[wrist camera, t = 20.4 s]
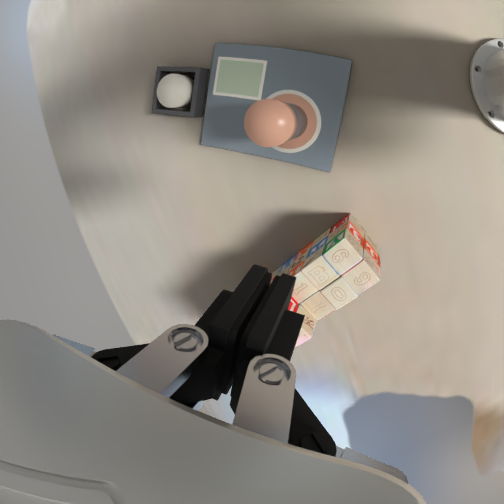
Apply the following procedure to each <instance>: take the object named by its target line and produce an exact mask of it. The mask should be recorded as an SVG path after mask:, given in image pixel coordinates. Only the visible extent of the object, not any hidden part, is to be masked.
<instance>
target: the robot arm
mask: <svg viewBox="0 0 504 504" xmlns="http://www.w3.org/2000/svg"><path fill="white" fill-rule="evenodd" d="M498 45H499V46H498ZM475 68H476V69H477V72H476V70H475ZM470 84H471V90H472V93H473V96H474V99H475V101H476V103H477V105H478V108H479V109H480V111H481V112H482V114H483V115H484V117H485V118H486V119H487V120H488V121H489V123H490V124H491V125H493V126H494V127H495V128H496V129H497V130H499V131H501V132H502V133H504V39H493V40H489V41H487V42H486V43H484V44H483V45H481V46H480V47H479V48H478V49H477V51H476V52H475V53H474V56H473V58H472V60H471V65H470ZM488 112H490V116H489V113H488ZM271 279H272V273H268V268H265V267H261V266H258V265H253V266H252V268H251V269H250V270H249V272H248V273H247V274H246V276H245V277H244V279H243V280H242V281H241V283H240V284H239V285H238V287H237V288H236V289H235V291H234V292H230V291H227V290H223V291H222V292H221V293H220V294H219V296H218V297H217V298H216V299H215V301H214V302H213V303H212V304H211V306H210V307H209V308H208V309H207V311H206V312H205V313H204V314H203V316H202V317H201V318H200V319H199V321H198V322H197V323H196V324H195V326H194V325H189V324H179V325H175V326H172V327H171V328H169V329H167V330H166V331H165V332H164V333H162V334H161V335H160V336H159V337H157V338H156V339H155V340H154V341H152V342H151V343H149V344H142V345H135V346H128V347H121V348H113V349H106V350H102V351H99V352H96V351H95V348H92V347H89V346H86V345H83V344H80V343H77V342H74V341H71V340H68V339H65V338H62V337H59V336H56V335H53V334H50V333H48V332H46V331H44V330H42V329H40V328H38V327H36V326H33V325H30V324H28V323H25V322H20V321H16V320H0V504H426V501H425V499H424V498H423V497H422V496H421V494H420V493H419V492H418V491H416V490H415V489H414V488H413V487H411V486H410V485H408V481H407V477H406V476H405V475H404V473H403V472H402V471H400V470H399V469H397V468H395V467H392V466H390V465H387V464H385V463H382V462H380V461H377V460H375V459H372V458H370V457H368V456H365V455H363V454H361V453H358V452H356V451H354V450H352V449H350V448H347V447H346V448H345V449H342V448H340V447H337V446H336V444H335V442H334V440H333V439H332V437H331V436H330V435H329V433H328V432H327V431H326V429H325V428H324V427H323V425H322V424H321V423H320V421H319V420H318V419H317V417H316V416H315V415H314V413H313V412H312V411H311V409H310V408H309V407H308V405H307V404H306V402H305V401H304V400H303V398H302V397H301V396H300V394H299V393H298V392H297V390H296V389H295V381H296V370H295V368H294V366H293V365H292V364H291V363H290V359H291V356H292V354H293V351H294V348H295V345H296V342H297V339H298V336H299V333H300V330H301V327H302V324H303V320H304V317H305V315H303V314H299V313H296V312H293V311H290V310H288V308H289V304H290V301H291V297H292V293H293V289H294V286H295V282H296V277H295V276H291V275H288V274H285V273H282V275H281V276H278V275H276V276H275V278H274V279H273V281H272V283H271ZM270 283H271V285H270ZM231 386H232V390H231V395H230V396H231V402H230V406H231V408H232V410H233V412H234V414H235V417H234V420H233V424H229V423H226V422H224V421H221V420H219V419H216V418H214V417H211V416H209V415H206V414H204V413H201V412H199V411H198V410H199V409H200V408H201V406H202V404H203V401H204V400H208V399H212V398H213V399H215V400H218V399H219V397H220V395H221V393H223V394H227V393H228V391H229V390H230V388H231Z"/></svg>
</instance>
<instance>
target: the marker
mask: <svg viewBox="0 0 504 504" xmlns="http://www.w3.org/2000/svg"><path fill="white" fill-rule="evenodd" d="M244 128H245V131H246V134H247V135H248V137H249V138H250V139H251V140H252V141H253V142H254V143H255V144H257V145H259V146H262V147H275V146H278V145H281V144H283V143H285V142H287V141H289V140H292V139H295V138H297V137H299V136H301V135H302V134H303V133H304V132H305V130H306V128H307V116H306V114H305V112H304V111H303V109H302V108H301V107H299V106H297V105H295V104H291V103H286V102H283V101H279V100H274V99H262V100H259V101H257V102H255V103H253V104H252V105H251V106H250V107H249V108H248V110H247V112H246V114H245V117H244Z"/></svg>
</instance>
